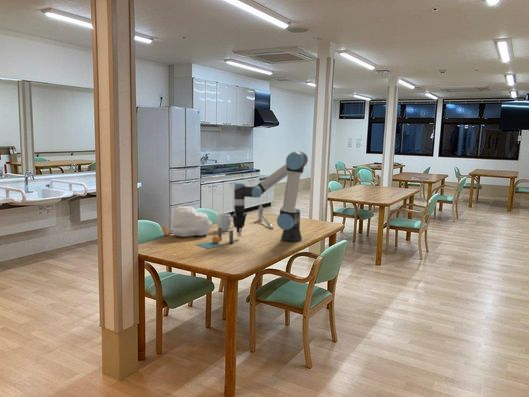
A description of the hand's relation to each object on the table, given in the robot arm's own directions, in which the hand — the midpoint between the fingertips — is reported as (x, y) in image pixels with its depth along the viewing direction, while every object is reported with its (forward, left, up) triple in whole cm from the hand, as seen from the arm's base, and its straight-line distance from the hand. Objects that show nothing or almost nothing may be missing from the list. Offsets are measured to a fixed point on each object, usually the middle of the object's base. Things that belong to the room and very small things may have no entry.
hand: (239, 236), depth 319 cm
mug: (-11, -29, -2) cm, 31 cm away
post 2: (+13, +6, -2) cm, 15 cm away
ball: (+21, -1, +1) cm, 21 cm away
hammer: (-54, -26, -2) cm, 60 cm away
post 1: (+13, -6, -2) cm, 15 cm away
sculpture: (+17, -34, -2) cm, 38 cm away
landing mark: (+27, 0, -2) cm, 27 cm away
